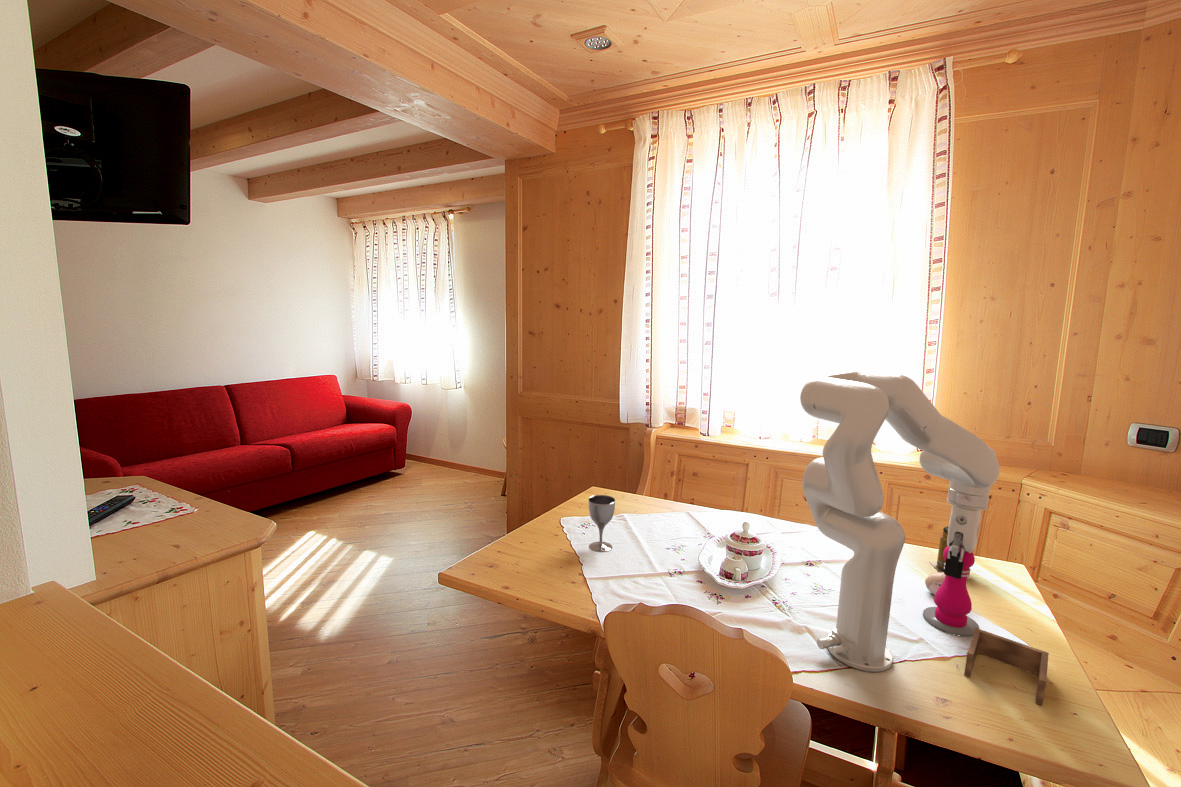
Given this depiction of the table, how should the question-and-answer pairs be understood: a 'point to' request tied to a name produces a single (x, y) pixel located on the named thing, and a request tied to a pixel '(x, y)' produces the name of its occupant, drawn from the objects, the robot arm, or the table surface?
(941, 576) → the beige plush toy
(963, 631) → the coaster
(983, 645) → the cradle
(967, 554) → the pepper mill
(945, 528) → the condiment
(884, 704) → the table surface
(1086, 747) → the table surface
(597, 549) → the wine glass
